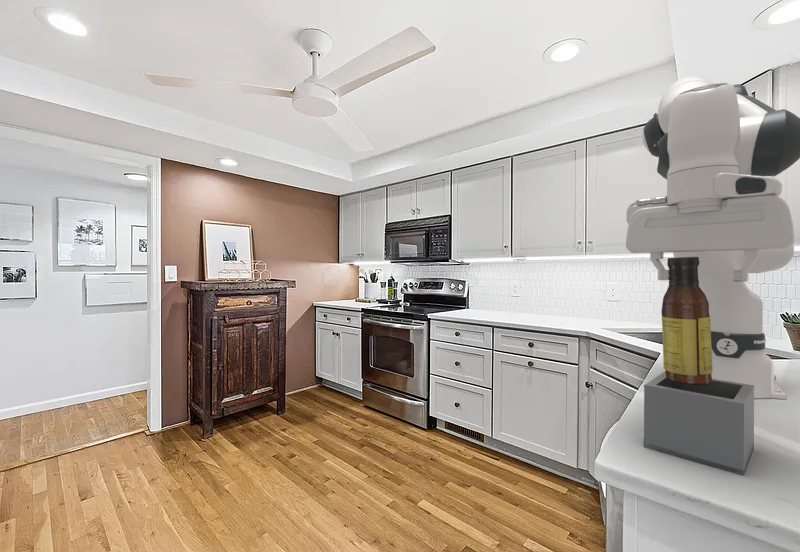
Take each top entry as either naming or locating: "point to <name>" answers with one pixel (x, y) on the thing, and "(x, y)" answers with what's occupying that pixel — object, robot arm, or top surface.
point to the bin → (701, 422)
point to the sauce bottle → (686, 325)
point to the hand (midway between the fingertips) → (700, 281)
